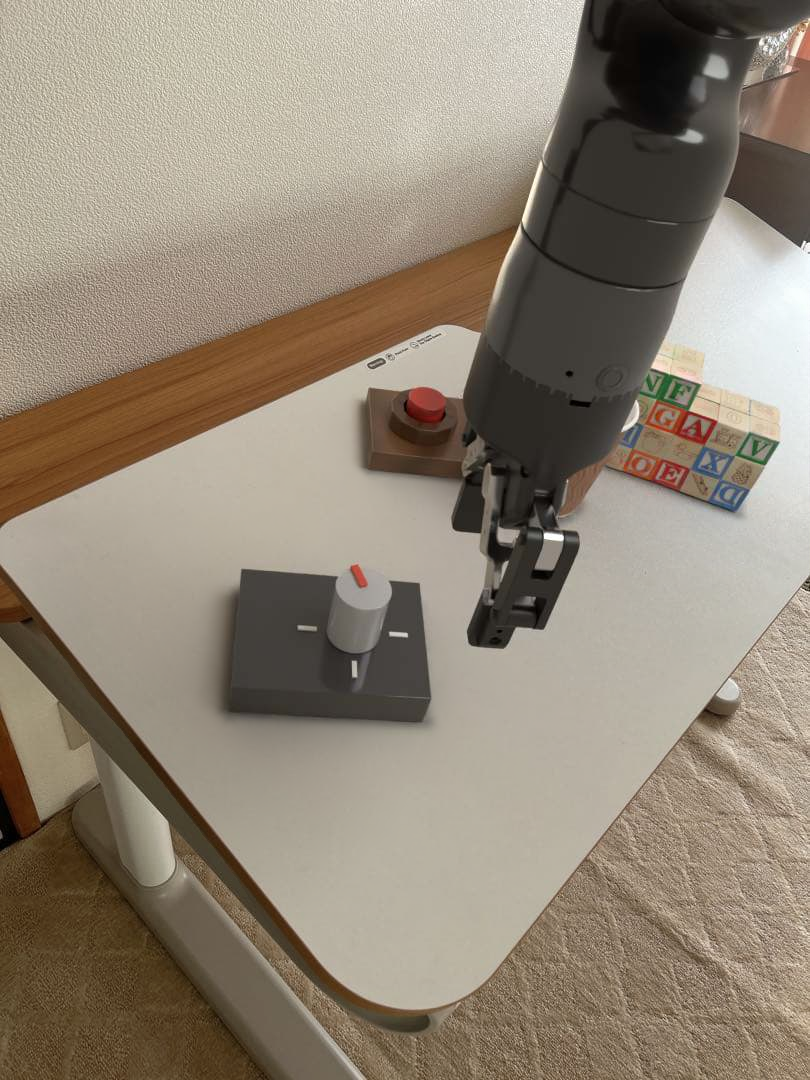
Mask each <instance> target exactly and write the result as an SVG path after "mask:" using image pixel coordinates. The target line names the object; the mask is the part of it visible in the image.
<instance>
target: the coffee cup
mask: <svg viewBox="0 0 810 1080" xmlns="http://www.w3.org/2000/svg"><path fill="white" fill-rule="evenodd" d="M634 414H635V415H634ZM633 417H634V418H633ZM638 417H639V405H638V402H637V400H636V401H635V403H634V405H633V407H632V410H631V412H630V414H629V416H628V418H627V420H626V422H625V425H624V427H623V429H622V431H621V433H620V435H619V437H618V439H617V442H616V444H615V446H614V447H613V449H612V450H611V452H610V453H609V454H608V455H607V456H606V457H605V458H604V459H602V460H601V461H599V462H598V463H596V464H594V465H591V466H589V467H587V468H585V469H583V470H581V471H579V472H577V473H575V474H574V475H572V476H570V477H569V478H568V488H567V495H566V501H565V504H564V505H563V507H562V508H561V509H560V511H559V516H558V519H562V518H565V517H567V516H569V515H571V514H572V513H573V512H574V511H575V510H576V509H577V507H579V506H580V504H581V503H582V502H583V500H584V498H585V497H586V495H588V493H589V491H590V490H591V488H592V486H593V485H594V483H595V481H596V480H597V479H598V477H599V476H600V474H601V472H602V471H603V469H604V468H605V466H606V463H607V461H608V460H609V458H610V457H611V455H612V454H613V452H614V451H615V449H616V448H617V446H618V444H619V443H620V441H621V440H622V438H623V437H624V435H625V434H626V432H627V431H628V429H629V428H631V427H632V426H633V425H634V424H635V423H636V422H637V420H638Z"/></svg>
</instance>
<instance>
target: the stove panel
mask: <svg viewBox="0 0 810 1080" xmlns="http://www.w3.org/2000/svg"><path fill="white" fill-rule="evenodd" d="M338 576H339V575H329V574H328V575H326V574H316V573H315V574H314V573H304V572H303V573H302V572H290V571H279V570H278V571H277V570H266V569H265V570H264V569H254V568H253V569H252V568H241V569H240V579H239V587H238V600H237V610H236V622H235V623H236V624H235V635H234V645H233V646H234V647H233V657H232V669H231V682H230V693H229V695H230V696H229V705H228V711H229V712H230V713H243V714H244V713H245V714H247V713H248V714H264V715H265V714H266V715H283V716H285V715H287V716H301V717H303V716H304V717H305V716H306V717H324V718H341V719H343V718H345V719H359V720H360V719H363V720H380V721H381V720H383V721H402V722H421V723H422V722H424V720H425V717H426V714H427V712H428V709H429V706H430V704H431V701H432V691H431V690H432V689H431V681H430V679H431V678H430V670H429V661H428V652H427V641H426V632H425V623H424V613H423V612H424V611H423V603H422V601H423V600H422V591H421V584H420V582H414V581H412V582H411V581H402V580H401V581H400V580H391V579H390V580H389V579H387V580H388V581H389V583H390V585H391V588H392V595H391V599H390V602H389V606H388V609H387V613H386V617H385V620H384V624H383V627H382V631H381V634H380V638H379V641H378V643H377V644H376V646H375V647H373V648H372V649H371V650H369V651H367V652H364V653H348V652H345V651H342V650H340V649H338V648H337V647H336V646H334V645H333V644H332V643H331V641H330V640H329V638H328V636H327V632H326V627H327V622H328V617H329V613H330V608H331V603H332V598H333V593H334V589H335V584H336V580H337V578H338Z"/></svg>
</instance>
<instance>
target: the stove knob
mask: <svg viewBox="0 0 810 1080" xmlns="http://www.w3.org/2000/svg"><path fill="white" fill-rule="evenodd" d="M337 576H338V578H337V580H336V584H335V589H334V593H333V598H332V603H331V608H330V613H329V617H328V622H327V627H326V632H327V636H328V638H329V640H330V641H331V643H332V644H333V645H334V646H336V647H337V648H338V649H340V650H342V651H345V652H348V653H364V652H367V651H369V650H371V649H372V648H373V647H375V646H376V644H377V643H378V641H379V638H380V634H381V631H382V627H383V624H384V620H385V617H386V613H387V609H388V606H389V602H390V599H391V595H392V588H391V585H390V583H389V581H388V580H389V579H388V578H387V577H386V576H385V575H384V574H382V573H381V572H380V571H378V570H376V569H373V568H371V567H366V566H360V565H359V564H351V565H350V567H349V568H347V569H345V570H344V571H342V572H340V574H339V575H337Z"/></svg>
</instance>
